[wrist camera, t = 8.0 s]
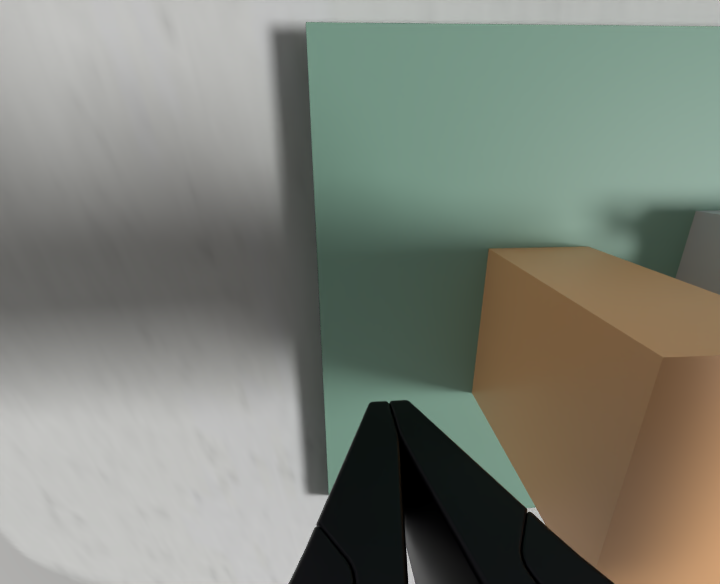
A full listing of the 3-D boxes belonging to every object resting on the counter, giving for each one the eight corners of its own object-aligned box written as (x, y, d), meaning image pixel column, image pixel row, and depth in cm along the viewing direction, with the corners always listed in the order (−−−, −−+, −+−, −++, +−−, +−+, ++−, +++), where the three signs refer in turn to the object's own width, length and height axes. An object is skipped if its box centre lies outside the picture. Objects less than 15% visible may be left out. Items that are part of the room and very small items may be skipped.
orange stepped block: (701, 244, 11) (1097, 342, 5) (656, 385, 13) (917, 575, 7) (488, 248, 11) (663, 358, 5) (471, 392, 13) (586, 597, 7)
